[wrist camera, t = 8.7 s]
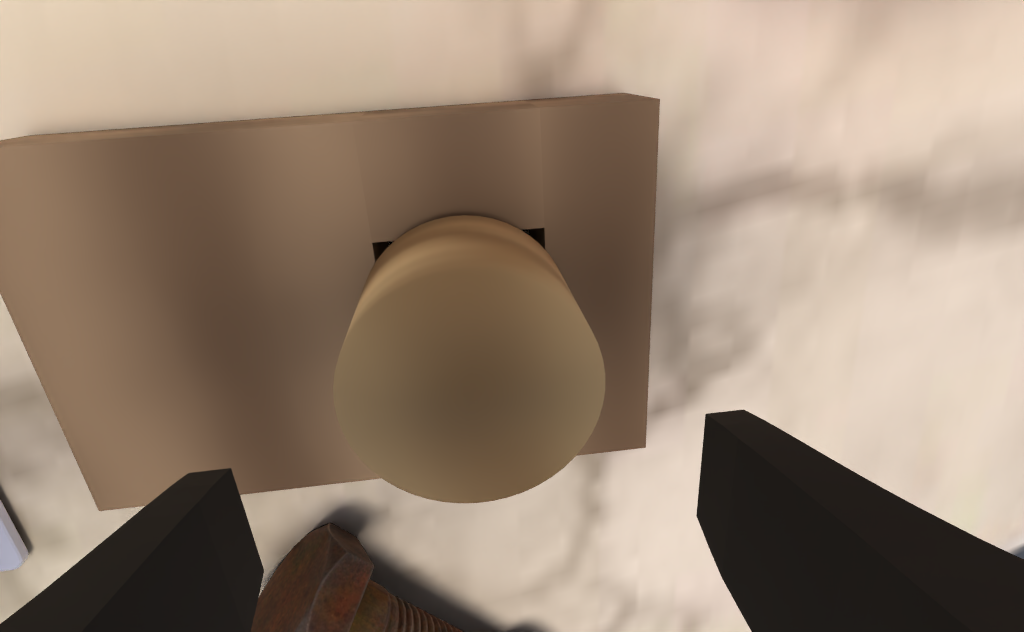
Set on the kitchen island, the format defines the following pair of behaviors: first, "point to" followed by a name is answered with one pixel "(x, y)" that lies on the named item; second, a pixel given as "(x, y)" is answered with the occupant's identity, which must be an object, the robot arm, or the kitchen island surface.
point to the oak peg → (467, 364)
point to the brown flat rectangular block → (296, 270)
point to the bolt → (335, 592)
